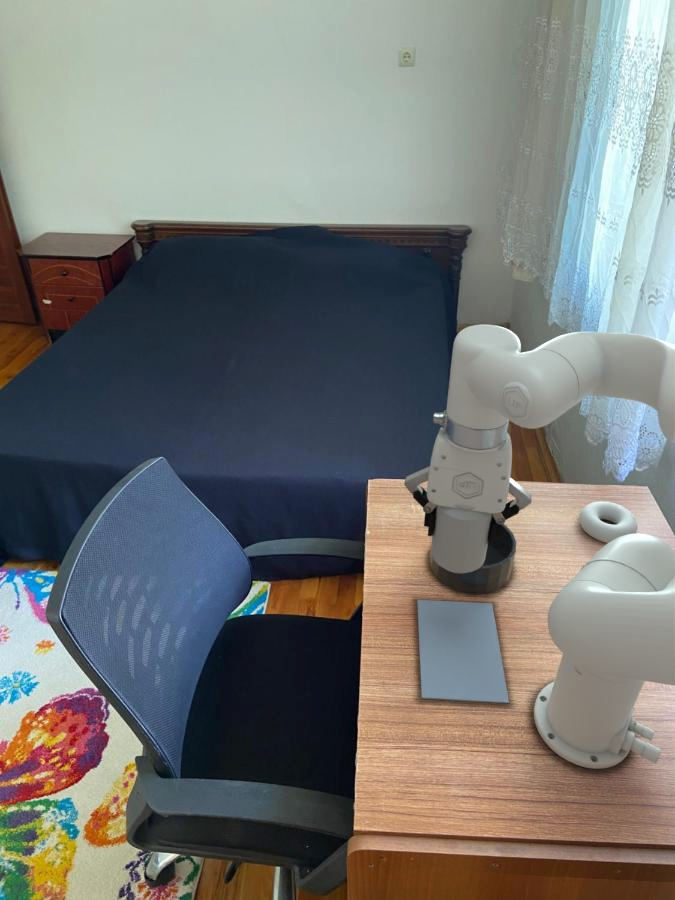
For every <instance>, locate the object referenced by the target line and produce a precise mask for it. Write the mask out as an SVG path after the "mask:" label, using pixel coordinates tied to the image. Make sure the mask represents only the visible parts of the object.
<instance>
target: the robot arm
mask: <svg viewBox="0 0 675 900" xmlns="http://www.w3.org/2000/svg"><path fill="white" fill-rule="evenodd" d="M521 351H522V345H521V341H520V338H519V337H518V336H517V334H515V333H514V332H513V331H512V330H510V329H508V328H506V327H503V326H499V325H495V324H474V325H470V326H467V327H464V328H463V329H461V330H460V331H459V332H458V333H457V334H456V336H455V337H454V341H453V345H452V353H451V363H450V372H449V374H450V375H449V380H448V381H449V382H448V392H447V393H448V394H447V400H446V409H444V410H443V412H442V411H441V412H434V413H433V420H432V423H433V424H438V425H439V426H441V427H440V428H439V431H438V433H437V435H436V438H435V441H434V444H433V448H432V452H431V457H430V464H429V466H426V467H425V468H422V469H420V470H418V471H416V472H413V473H412V474H409V475H407V476H406V477H405V479H404V483H403V484H404V486H405V488H406V489H407V491H408V492H409V493H410V494H412V497H413V499H414V500H415V502H417V503H418V504H419V505H420V506H421V508H422V511H423V512H424V521H423V527H426V528H428V529H427V537H432V536H433V533H434V525H435V516H436V506H437V505H439V506H445V507H451V508H457V507H456V506H454V505H460V506H467V507H473V508H475V509H472V511H478V512H485V513H492V515H493V516H492V520H491V526H490V532H489V538H488V545H489V546H493V544H494V538H500V533H501V528H502V524H505V523H506V520H509V519H511V518H513V517H515V516H517V515H519V513H520V511H522V510H524V509H525V508H526V507H528V506H529V505H532V503H533V498H532V497H533V496H532V493H530V491H528V490H527V489H526V488H524V487H523V486H522V485H520V484H519V483H518V482H517V481H515V480H514V479H513V478H512V477H511V476H512V475H511V474H512V465H513V464H512V462H513V461H512V460H513V447H512V440H511V439H512V438H511V436H510V434H509V433H508V429H509V423H510V422H511V423H512V424H515V425H517V426H519V427H521V428H524V429H529V430H531V429H533V430H534V429H539V428H542V427H545V426H548V425H549V424H551V423H552V422H554V421H555V420H557V419H558V418H559V417H561V416H562V415H563V414H565V413H566V412H568V411H570V409H572V408H573V407H575V406H576V405H577V404H579V403H581V402H583V400H584V399H587V397H589V396H592V397H593V396H595V397H606V398H607V397H608V398H616V399H623V400H631V401H634V402H639V403H641V404H645V405H647V406H648V407H651V408H652V409H654V410H655V411H656V412H657V420H658V426H659V428H660V431H661V433H662V434H663V436H664V438H665V439H666V440H668V441H669V442H670V443H672V444H673V445H675V344H672V343H669V342H667V341H664V340H661V339H658V338H655V337H653V336H649V335H646V334H638V333H632V332H631V333H629V332H610V331H609V332H607V331H606V332H605V331H574V332H569V333H565V334H561V335H559V336H556V337H554V338H552V339H551V340H548V341H546V342H545V343H542V344H541V345H539V346H537V347H536V348H534V349H532V350H529V351H524V352H521ZM426 482H427V485H426V490H425V488H424V487H422V486H421V484H423V483H426ZM509 494H510V495H511V496H512V497H514V498H515V499H512V500H510V501H508V497H509ZM507 501H508V502H507ZM546 619H547V629H548V633H549V636H550V638H551V640H552V642H553V643H554V645H555V646H556V648H557V649H558V650H559V651H560V652H561V653H562V656H561V659H560V662H559V664H558V665H559V666H558V668H557V672H556V675H555V679H554V681H553V682H550V683H548V684H547V685H545V686H544V687H543V688H541V690H540V692H539V693H538V694H537V697H536V699H535V702H534V707H533V720H534V725H535V728H536V729H537V732H538V734H539V735H540V737H541V738H542V740H543V742H544V743H545V744H546V745H547V746H548V747H549V748H550V749H551V751H553V752H554V753H555V754H556V755H558V756H559V757H560V758H562V759H564V760H565V761H567V762H569V763H572V764H573V765H576V766H579V767H583V768H587V769H597V770H598V769H599V770H601V769H607V768H611V767H615V766H616V765H618V764H620V763H621V762H622V761H623V760H624V759H625V758H626V757H627V756H628V755H629V753H630V751H631V752H633V753H635V754H637V755H639V756H640V757H641V758H643V759H645V760H647V761H649V762H651V763H653V764H657V763H658V761H659V758H660V756H661V752H662V749H661V748H660V747H658V746H656V745H654V744H652V743H649V742H648V741H652V740H653V737H654V734H655V730H654V729H652V728H650V727H648V726H646V725H643V724H641V723H639V722H637V719H635V718H633V714H634V711H635V704H636V702H637V699H638V697H639V695H640V692H641V690H642V688H643V686H644V684H645V682H649V683H654V684H662V685H668V686H674V687H675V548H674V547H673V546H671V544H669V543H668V542H666V541H665V540H663V539H661V538H659V537H657V536H654V535H652V534H647V533H638V532H636V533H634V534H628V535H623V536H620V537H618V538H616V539H614V540H612V541H611V542H609V543H606V544H605V545H604V546H602V548H600V549H599V550H598V551H597V552H596V553H595V554H593V556H592V557H591V558H590V559H589V560H588V561H587V562H586V563H585V564H584V565H583V566H582V567H581V568H580V570H579V571H578V572H577V573H576V574H575V576H574V577H572V578H571V580H570V581H568V583H566V584H565V586H564V587H563V588H562V589H560V591H559V592H558V593H557V595H555V597H554V598H553V600H552V602H551V604H550V606H549V609H548V613H547V618H546ZM636 734H637V735H639V736H640V737H642V738H644V739H645V740H648V741H644V740H643V739H641V738H638V737H636Z"/></svg>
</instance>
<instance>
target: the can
mask: <svg viewBox="0 0 675 900" xmlns="http://www.w3.org/2000/svg"><path fill="white" fill-rule="evenodd" d="M454 506H456V507H457V508H451V507H445V506H439V505H437V506H436V516H435V525H434V533H433V542H432V541H431V543H432V556H433V558H434V561H435V562H436V563H437V564H438V565H439V566H441V567H443V568H444V569H446V570H448V571H450V572H453V573H468V572H472V571H475V570H477V569H479V568H480V567H481V566H482V565H483V563H484V561H485V557H486V551H487V545H488V538H489V532H490V526H491V520H492V516H493V515H492V513H485V512H478V511H472V509H475V508H473V507H467V506H460V505H454Z"/></svg>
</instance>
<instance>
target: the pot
mask: <svg viewBox="0 0 675 900" xmlns="http://www.w3.org/2000/svg"><path fill="white" fill-rule="evenodd" d="M432 542H433V536H431V542H430V543H431V544H430V554H429V564H430V568H431V571H432V573H433V574H434V576H435V577H436V578H437V579H438V580H439V582H441V583H442V584H443V585H444V586H446V587H448V588H449V589H452V590H454V591H457V592H459V593H462V594H467V595H486V594H491V593H494V592H497V591H498V590H500V589H502V588H504V586H505V585H507V583H508V581H509V580H510V578H511V576H512V571H513V567H514V562H515V558H516V553H517V540H516V536H515V534H514V532H513V531H512V530H511V529H510V528H509V527H508V526H507V525H506V524H505V523H504V524H502V528H501V533H500V538H494V544H493V546H489V545H487V551H486V557H485V561H484V563H483V565H482V566H481V567H480V568H479V569H477V570H475V571H472V572H468V573H453V572H450V571H448V570H446V569H444V568H443V567H441V566H439V565H438V564H437V563H436V562H435V561H434V558H433V556H432Z"/></svg>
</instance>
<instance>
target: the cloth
mask: <svg viewBox="0 0 675 900" xmlns="http://www.w3.org/2000/svg"><path fill="white" fill-rule="evenodd" d="M416 601H417V623H418V624H417V625H418V647H419V648H418V649H419V664H420V665H419V669H420V690H421V691H420V692H421V694H420V695H421V699H422V700H423V699H424V700H439V701H455V702H456V701H457V702H475V703H491V704H506V705H507V704H510V700H509V695H508V688H507V684H506V683H507V682H506V677H505V672H504V666H503V659H502V653H501V648H500V642H499V636H498V630H497V625H496V618H495V611H494V607H493V603H491V602H475V601H474V602H470V601H453V600H452V601H451V600H432V599H431V600H430V599H417V600H416Z"/></svg>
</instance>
